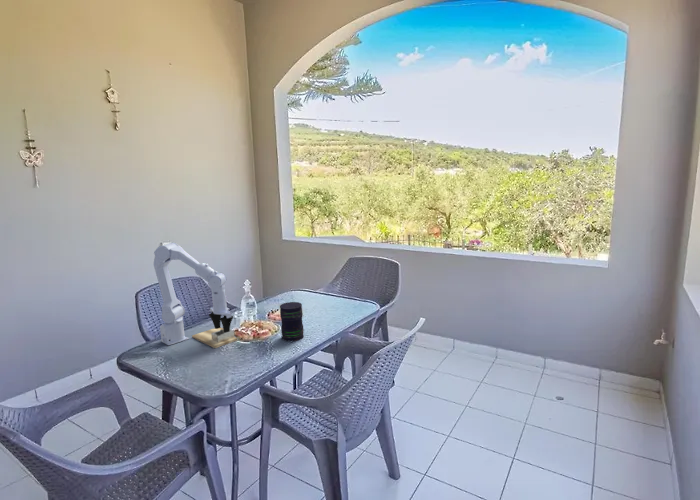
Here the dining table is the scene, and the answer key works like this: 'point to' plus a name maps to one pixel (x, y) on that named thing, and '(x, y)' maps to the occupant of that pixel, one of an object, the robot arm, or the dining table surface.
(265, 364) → the dining table surface
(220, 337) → the grey tin box
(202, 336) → the board
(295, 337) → the storage jar
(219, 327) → the robot arm
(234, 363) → the dining table surface
